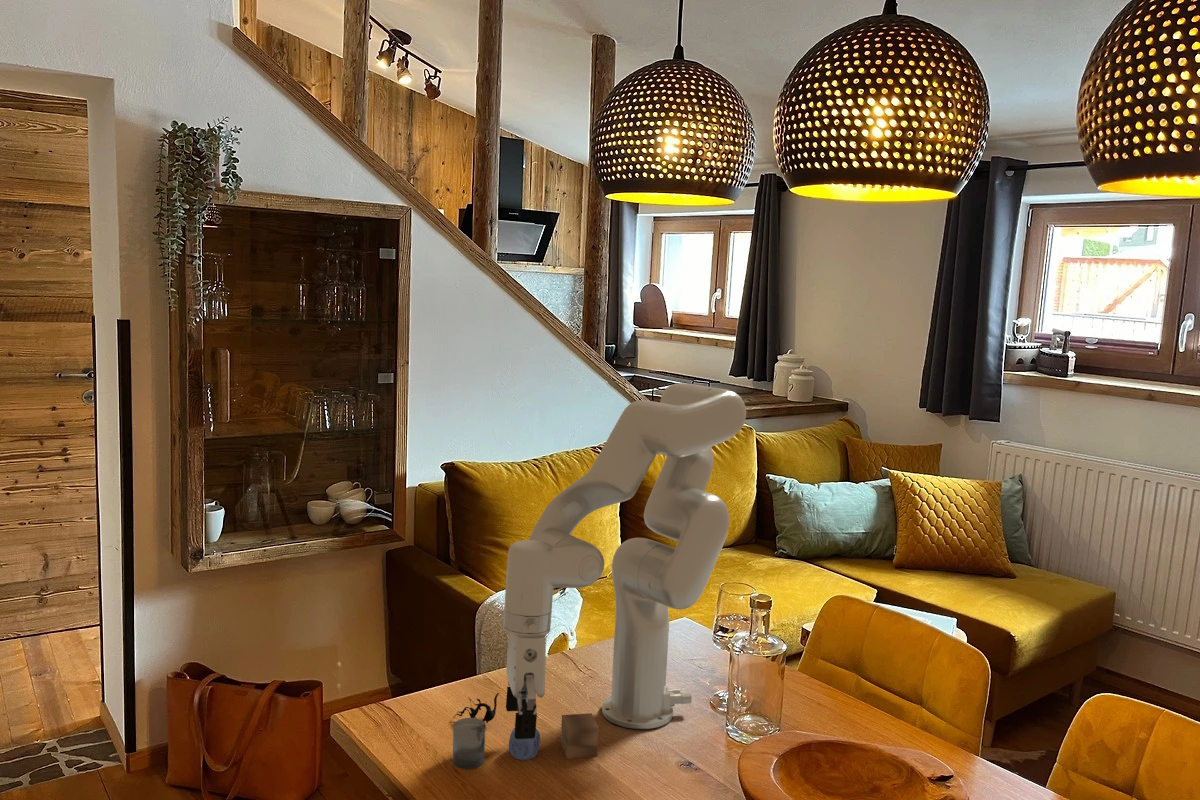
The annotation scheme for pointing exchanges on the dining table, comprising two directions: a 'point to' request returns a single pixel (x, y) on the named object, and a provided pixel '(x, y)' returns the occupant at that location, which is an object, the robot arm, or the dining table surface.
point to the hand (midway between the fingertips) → (519, 723)
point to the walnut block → (579, 735)
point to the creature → (489, 712)
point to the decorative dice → (524, 746)
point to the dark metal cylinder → (468, 743)
